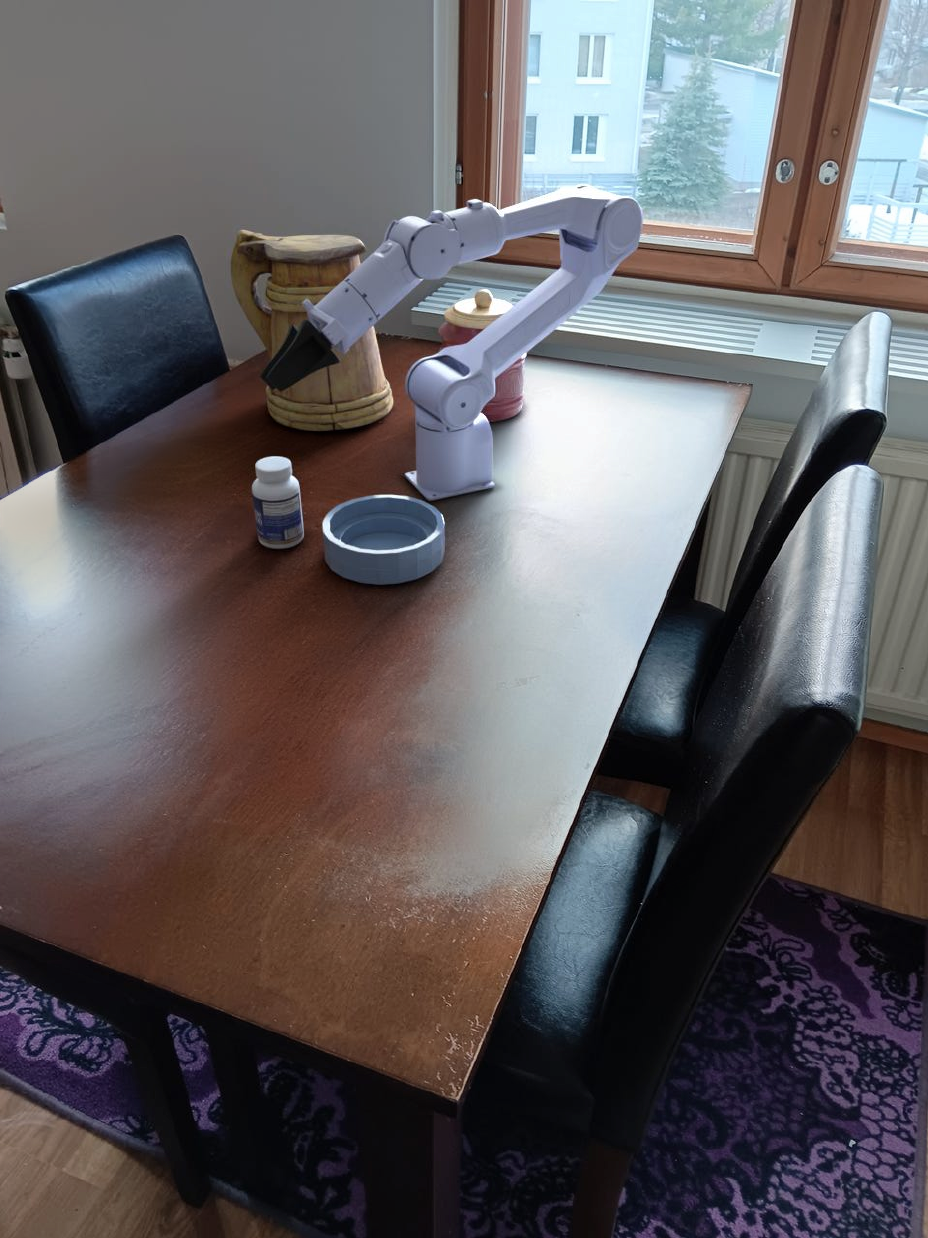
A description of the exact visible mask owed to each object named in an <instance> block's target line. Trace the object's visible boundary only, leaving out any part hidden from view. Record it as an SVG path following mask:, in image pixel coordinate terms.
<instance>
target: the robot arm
mask: <svg viewBox="0 0 928 1238" xmlns="http://www.w3.org/2000/svg"><path fill="white" fill-rule="evenodd" d="M643 214H644V213H643V209H642V207H641V205H640V203H639V202H638V201H637V200H636V199H635V198H633V197H629V196H620V195H616V194H615V193H614V194H613V193H610V192H607V191H603V190H599V189H597V188H595V187H594V186H591V185H589V184H585V183H584V184H583V183H581V184H578V185H574V186H563V187H561V188H560V189H558V190H556V191H554V192H551V193H548V194H545V195H542V196H539V197H536V198H532V199H529V200H525V201H523V202H520V203H516V204H514V205H511V206H507V207H504V208H501V209H499V210H498V209H497V208H496V207H495V206H493V205H492V204H491V203H489V202H484V201H483V200H480V199H477V198H473V199H469V200H467V201H466V206H465V207H461V208H457V209H453V210H449V211H445V212H443V211H441V210H439V209H436V210H432V211H431V212H430V216H428V217H427V218H426V219H423V218H420V217H419V216H413V215H409V216H408V215H407V216H404V217H402V218H400V219H399V220H396V219H393V220H392V221H391V222H390V223H389V225H388V226H387V228H386V231H385V232H384V237H383V241H382V243H381V245H380V246H379V247H378V248H376V250H375V251H374V252H372V253H371V254H370V255H369V256H368V257H367V258H366V259H364V261H363V262H361V265H359V266H358V267H357V268H356V269H355V270H354V271H353V272H352V273H351V274H350V275H348V276H347V277H346V278H345V279H344V280H343V281H342V282H341V283H340V284H339V285H337V286H336V287H335V288H334V289H333V290H332V291H331V292H330V293H329V294H328V295H326V296H325V297H324V298H323V299H322V300H321V301H320V302H319V303H318V304H317V305H315V306H313V305H312V303H311V302H310V301H309V300H308V299H305V300H304V301H303V302H302V303H301V304H302V306H303V307H304V308H305V309H306V311H307V314H308V318H309V320H308V319H304V320H303V321H302V322H301V325H300V327H299V329H298V328H297V327H296V326H295V325H294V324H291V326H290V328H289V330H288V333H287V336H286V338H285V340H284V342H283V344H282V345H281V347H280V349H279V350H278V352H277V353H276V354H275V356H274V357H273V358H272V359H270V360H269V362H268V363H267V364H266V366H265V367H264V369H263V370H262V372H261V373H260V375H259V377H260V379H262V381H263V382H264V383H265V384H266V385H267V386H269V387H270V388H271V389H272V390H274V389H276V388H277V389H278V390H279V392H281V391H283V390H285V389H287V388H289V387H291V386H292V385H294V384H296V383H297V382H299V381H300V380H302V379H303V378H305V377H307V376H308V375H310V374H312V373H314V372H316V371H318V370H320V369H322V368H325V367H328V366H331V365H334V364H338V363H340V360H339V359H338V357H337V356H336V355H335V354H334V353H333V351H332V350H331V349H332V347H333V348H334V349H336V350H337V351H339V352H340V353H342V354H345V353H346V352H348V351H349V347H350V346H351V345H352V344H354V343H355V342H356V341H357V340H358V339H359V338H360V337H361V336H362V335H363V334H365V333H366V332H367V331H368V330H369V329H370V328H371V327H372V326H373V325H374V326H375V325H376V324H377V323H378V322H379V321H380V320H381V319H382V318H383V317H385V316H386V314H387V313H389V311H391V310H392V309H393V308H394V307H396V305H398V303H399V302H401V301H402V300H403V299H404V298H405V297H406V296H407V295H409V294H410V293H411V292H412V291H413V290H414V289H415V288H416V287H417V286H418V285H419V284H420V283H422V281H423V280H424V279H425V280H440V279H442V278H444V277H446V275H447V274H449V272H450V271H451V269H452V267H456V266H458V265H462V264H465V263H469V262H473V261H477V260H481V259H484V258H487V257H490V256H495V255H497V254H498V253H500V252H501V250H502V249H503V246H504V244H505V242H506V241H509V240H514V239H520V238H523V237H529V236H533V235H538V234H543V233H548V232H553V231H558V236H559V239H558V240H559V256H560V257H559V258H560V261H561V264H560V267H559V269H557V270H556V271H555V272H553V273H552V274H551V275H550V276H549V277H547V278H546V279H545V280H543V281H542V282H541V283H540V284H539V285H537V286H536V287H535V288H533V289H532V290H531V291H530V292H529V293H528V294H526V295H525V296H523V297H522V298H521V299H520V300H519V301H518V302H516V303H515V304H514V305H512V306H513V307H511V308H510V309H509V310H508V311H506V312H505V313H504V314H503V315H501V316H500V317H499V318H498V319H496V320H495V321H494V322H493V323H492V324H490V325H489V326H488V327H487V328H485V329H484V330H483V331H482V332H480V333H479V334H478V335H477V336H475V337H474V338H473V339H472V340H470V341H469V342H468V343H466V344H462V345H456V346H451V347H446V348H444V349H443V350H441V351H440V352H439V351H438V352H437V353H435V354H432V355H430V356H425V357H422V358H420V359H418V360H416V361H415V362H414V363H413V364H412V365H411V366H410V368H409V369H408V371H407V374H406V376H405V380H404V390H405V393H406V395H407V397H408V399H409V400H410V401H411V402H412V403H414V413H415V414H414V420H415V422H414V424H415V470H413V471H408V472H407V471H406V472H405V473H404V477H405V478H406V479H407V480H408V481H409V483H411V485H412V486H413V487H415V489H416V490H418V492H419V493H420V494H421V495H422V496H423V497H424V498H425V499H426V500H427V501H429V502H430V501H431V502H432V501H436V500H441V499H446V498H450V497H455V496H460V495H464V494H469V493H473V492H474V493H475V492H477V491H483V490H487V489H488V490H489V489H492V488H494V487H495V482H494V481H493V454H494V453H493V451H494V450H493V449H494V440H493V439H494V438H493V437H494V436H493V431H492V427H491V423H490V422H488V420H487V418H486V417H485V416H484V415H483V414H482V413H481V411H482V409H483V407H484V406H485V405H486V403H487V402H488V401H490V400H491V399H492V398H493V397H494V396H495V378H496V377H497V376H498V375H500V374H501V373H502V372H503V371H504V370H506V369H507V368H508V367H509V366H511V365H512V364H513V363H514V362H516V361H517V360H518V359H519V358H520V357H522V356H523V355H524V354H525V353H526V354H527V353H528V352H529V351H530V350H532V349H534V347H536V346H537V345H538V344H539V343H540V342H541V341H543V340H544V339H546V337H548V336H549V335H550V334H551V333H552V332H554V331H555V330H556V329H558V328H559V327H560V326H561V325H562V324H564V323H565V322H566V321H567V320H568V319H570V318H571V317H572V316H574V315H575V314H576V313H577V312H578V311H580V310H581V309H582V308H583V307H585V306H586V305H587V304H588V303H590V302H591V301H592V300H594V298H595V297H597V296H598V295H599V294H600V293H601V292H602V291H603V289H604V287H605V286H606V285H607V283H608V281H609V280H610V278H611V277H612V275H613V274H614V272H616V269H617V268H618V266H619V264H620V263H622V262H623V261H624V260H625V259H626V258H628V257H629V256H630V255H631V254H633V253H634V252H635V251H636V250H637V249H638V248H639V243H640V239H641V234H642V229H643V224H644V215H643Z"/></svg>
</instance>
